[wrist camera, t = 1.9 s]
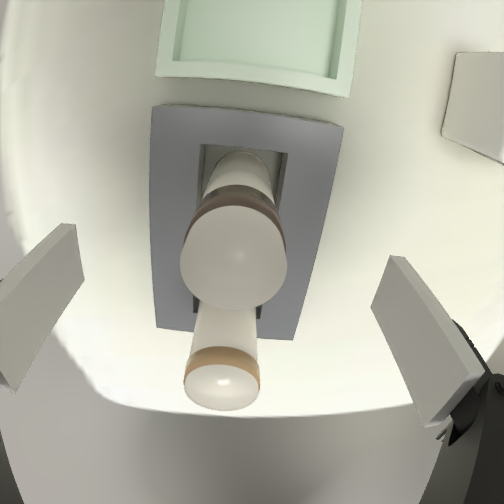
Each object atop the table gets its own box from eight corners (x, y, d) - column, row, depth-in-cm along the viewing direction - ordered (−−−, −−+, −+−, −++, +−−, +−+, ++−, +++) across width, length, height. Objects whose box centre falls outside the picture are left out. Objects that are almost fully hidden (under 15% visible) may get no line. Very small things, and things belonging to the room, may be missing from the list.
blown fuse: (213, 147, 21) (177, 211, 10) (273, 153, 21) (299, 223, 11) (209, 202, 23) (178, 306, 12) (265, 208, 23) (279, 316, 13)
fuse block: (162, 104, 19) (152, 106, 17) (333, 123, 20) (343, 127, 18) (162, 309, 28) (156, 327, 26) (289, 321, 29) (292, 340, 27)
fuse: (206, 246, 25) (180, 364, 14) (258, 252, 25) (265, 372, 15) (204, 289, 27) (184, 407, 16) (252, 293, 27) (255, 413, 17)
